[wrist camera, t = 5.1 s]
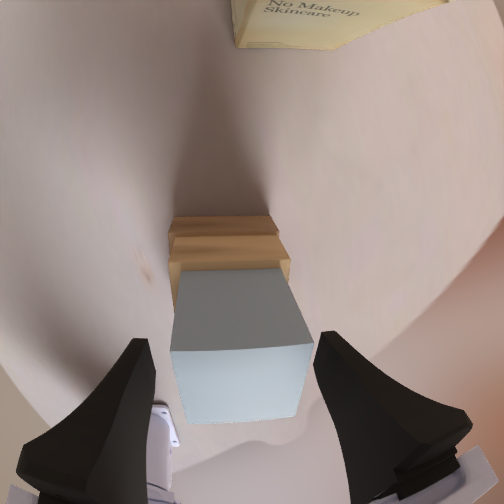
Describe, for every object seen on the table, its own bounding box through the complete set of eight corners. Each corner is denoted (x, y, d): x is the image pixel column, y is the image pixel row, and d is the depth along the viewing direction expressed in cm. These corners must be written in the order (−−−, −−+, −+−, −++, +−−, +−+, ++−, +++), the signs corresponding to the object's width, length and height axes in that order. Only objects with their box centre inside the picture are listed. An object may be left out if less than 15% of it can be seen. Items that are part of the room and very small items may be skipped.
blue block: (273, 340, 15) (294, 416, 11) (189, 344, 14) (187, 423, 10) (280, 267, 13) (314, 342, 9) (181, 270, 13) (169, 351, 8)
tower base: (263, 293, 21) (271, 318, 18) (181, 295, 20) (177, 322, 17) (269, 214, 18) (279, 231, 16) (174, 215, 18) (168, 232, 15)
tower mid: (270, 315, 18) (280, 347, 15) (183, 319, 17) (180, 352, 15) (277, 234, 16) (290, 259, 13) (175, 237, 15) (168, 262, 12)
